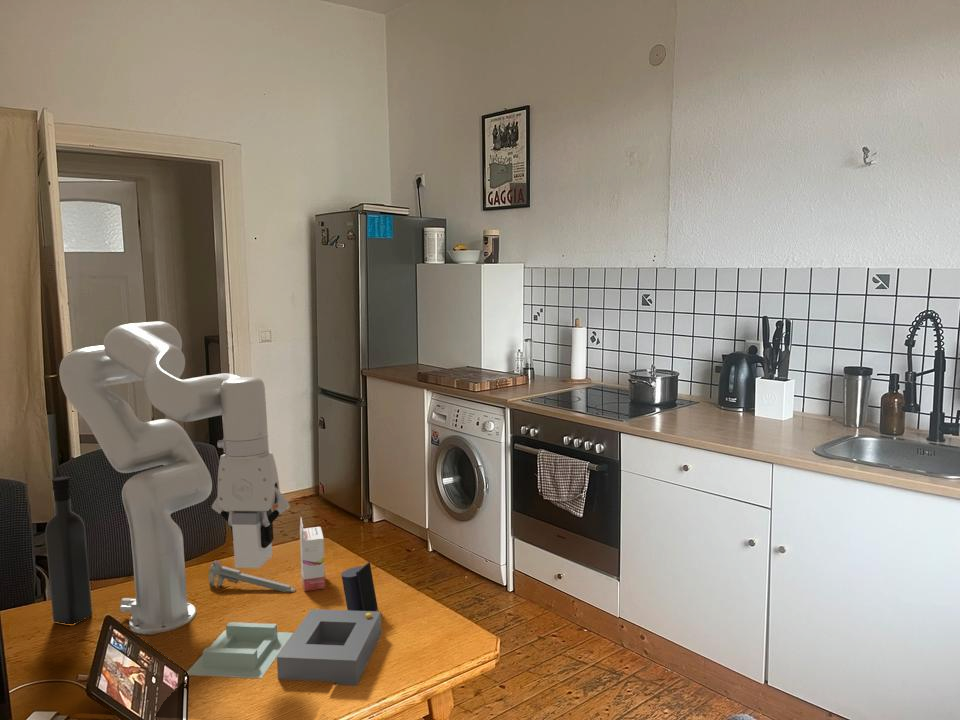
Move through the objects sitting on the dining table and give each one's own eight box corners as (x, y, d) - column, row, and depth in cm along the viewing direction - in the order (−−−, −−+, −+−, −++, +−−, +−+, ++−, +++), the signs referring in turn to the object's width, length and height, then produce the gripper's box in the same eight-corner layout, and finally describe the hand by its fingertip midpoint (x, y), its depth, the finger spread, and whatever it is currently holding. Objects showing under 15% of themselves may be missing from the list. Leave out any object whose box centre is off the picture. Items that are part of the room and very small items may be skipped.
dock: (278, 682, 128) (276, 653, 128) (311, 631, 146) (310, 606, 145) (356, 685, 127) (355, 657, 126) (381, 633, 145) (380, 608, 144)
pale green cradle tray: (184, 677, 130) (183, 658, 130) (225, 632, 146) (223, 615, 145) (261, 681, 129) (260, 661, 128) (293, 635, 144) (292, 618, 144)
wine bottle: (50, 624, 150) (37, 481, 147) (73, 611, 156) (61, 473, 152) (72, 627, 149) (59, 483, 145) (95, 615, 154) (83, 475, 150)
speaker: (386, 609, 154) (379, 562, 153) (365, 621, 150) (358, 572, 149) (362, 603, 159) (355, 556, 158) (341, 614, 155) (334, 566, 154)
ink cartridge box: (326, 589, 165) (324, 525, 163) (303, 592, 164) (300, 528, 162) (322, 573, 173) (320, 513, 171) (301, 576, 172) (298, 515, 170)
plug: (235, 567, 132) (231, 513, 131) (249, 554, 138) (245, 502, 137) (259, 568, 131) (255, 513, 130) (272, 555, 137) (269, 503, 136)
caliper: (209, 587, 167) (207, 561, 166) (212, 585, 168) (210, 559, 168) (294, 593, 164) (292, 566, 163) (296, 591, 165) (294, 564, 164)
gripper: (191, 451, 129) (199, 552, 131) (284, 451, 127) (290, 553, 129) (211, 441, 137) (218, 537, 139) (299, 441, 135) (305, 538, 137)
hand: (253, 544), depth 134 cm, fingers closed on plug, 4 cm apart
